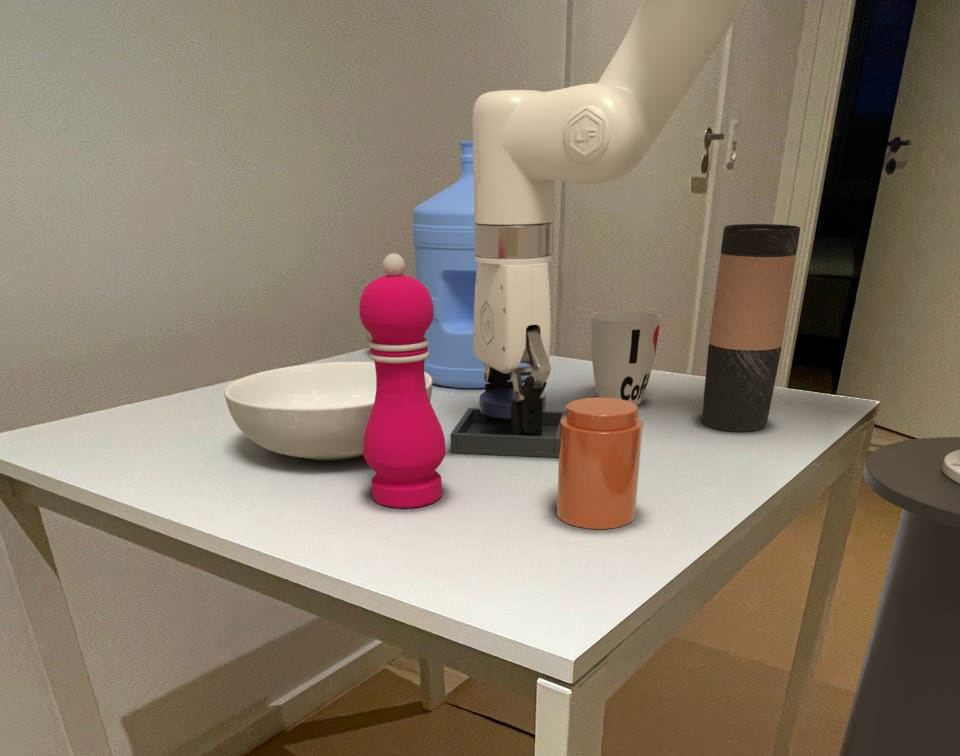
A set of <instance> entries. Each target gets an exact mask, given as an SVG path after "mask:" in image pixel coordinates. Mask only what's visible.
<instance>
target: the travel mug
mask: <svg viewBox="0 0 960 756" xmlns="http://www.w3.org/2000/svg"><path fill="white" fill-rule="evenodd" d="M800 234H801V227H800V226H797V225H791V224H777V223H775V224H773V223H743V224H742V223H741V224H740V223H739V224H729V225H725V226H724V227H723V233H722V239H721V247H720V254H719V263H718V268H717V269H718V270H717V278H716V283H715V284H716V286H715V293H714V299H713V306H712V307H713V308H712V313H711V315H712V316H711V322H710V331H709V338H708V348H707V359H706V366H705V367H706V368H705V380H704V388H703V389H704V391H703V400H702V401H703V402H702V413H701V422H702V424H703V425H704V426H706V427H708V428H712V429H713V430H714V429H715V430H719V431H722V432H723V431H724V432H732V433H733V432H736V433H745V432H746V433H748V432H756V431H760V430H763V429H764V428H766V427H767V424H768V419H769V415H770V411H771V406H772V400H773V395H774V389H775V385H776V380H777V375H778V370H779V365H780V360H781V354H782V349H783V347H782V346H783V343H784V337H785V331H786V325H787V319H788V318H787V317H788V311H789V305H790V300H791V292H792V287H793V279H794V273H795V267H796V266H795V265H796V261H797V260H796V259H797V252H798V246H799V241H800Z"/></svg>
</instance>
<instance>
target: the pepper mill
mask: <svg viewBox="0 0 960 756" xmlns="http://www.w3.org/2000/svg"><path fill="white" fill-rule="evenodd" d="M382 269H383V272H384V274H385V275H383V276H382V275H381V276H380V277H378V278H375V279H374V280H372V281H371V282H369V283H368V284H367V285H366V286H365V288H364V289H363V291H362V293H361V296H360V299H359V307H358V313H359V319H360V321H361V324H362V327H364V329H365V331H366V330H367V331H368V332H369V333H370V334H371V336H372V339H371V340H370V341H369V342H368V341H367V346H368V347H369V353H368V358H369V359H371V360H372V361H373V362H375V370H376V395H375V402H374V405H373V408H372V412H371V415H370V418H369V421H368V424H367V427H366V430H365V435H364V441H363V454H364V456H363V458H364V460H365V462H366V464H367V465H368V466H369V467H370V468H371V469H372V470H373V471H374V472H376V473H375V474H374V475H373V476H372V477H371V480H370V481H371V493H372V499H373V500H374V502H375V503H377V504H379V505H381V506H385V507H389V508H397V509H413V508H421V507H424V506H429V505H431V504H433V503H435V502H437V501H439V500H440V499H441V497H442V494H443V487H442V486H443V485H442V483H443V482H442V475H441V474H440V473H439V472H438V471H436V470H437V469H438V467H439V466H440V465H441V464H442V462H443V461H444V459H445V457H446V452H447V447H446V439H445V434H444V430H443V427H442V425H441V422H440V421H439V419H438V416H437V414H436V412H435V410H434V408H433V406H432V403H431V401H430V400H429V398H428V394H427V390H426V384H425V375H424V365H425V359H426V358H427V357H428V356H429V351H428V347H427V346H428V344H429V341H428V339H426V338H424V335H425V332H426V331H427V329H428V328H429V326H430V325H431V323H432V320H433V317H434V308H433V302H432V298H431V295H430V293H429V291H428V290H427V288H426V287H425V286H424V285H423V284H422V283H421V282H420V281H418V280H417V279H416V278H414V277H412V276H409V275H404V273H405V271H406V262H405V260H404V258H403V257H402V256H401V255H400V254H398V253H389V254H388V255H386V256H385V258H384V259H383V262H382Z"/></svg>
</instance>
